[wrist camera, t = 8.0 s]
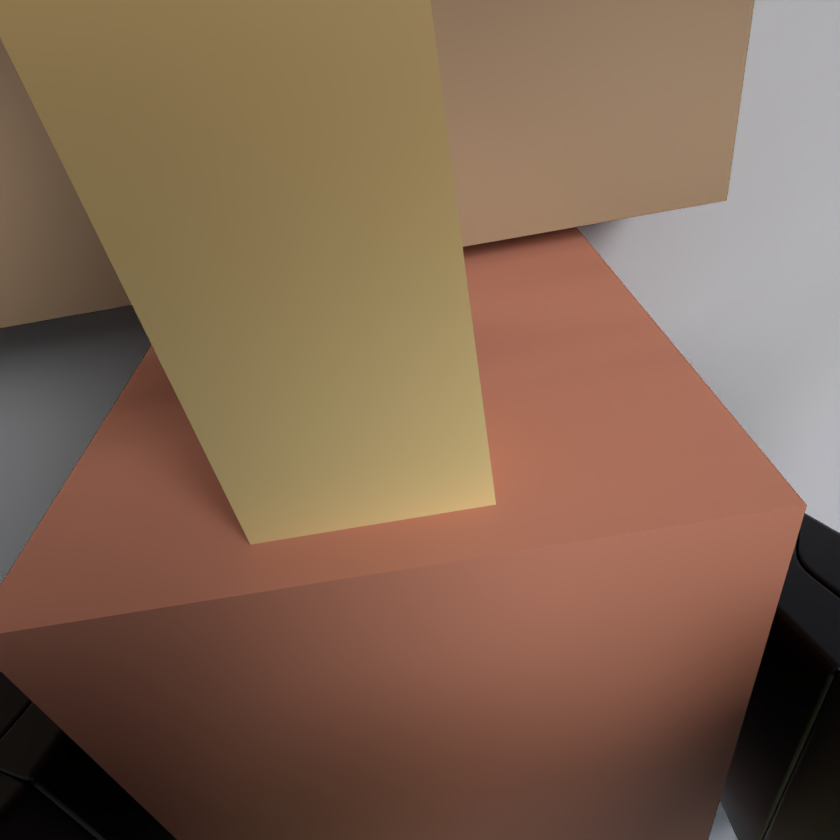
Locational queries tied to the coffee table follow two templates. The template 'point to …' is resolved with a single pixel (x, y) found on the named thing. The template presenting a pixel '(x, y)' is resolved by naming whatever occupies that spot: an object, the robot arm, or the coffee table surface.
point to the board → (465, 134)
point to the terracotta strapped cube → (372, 465)
